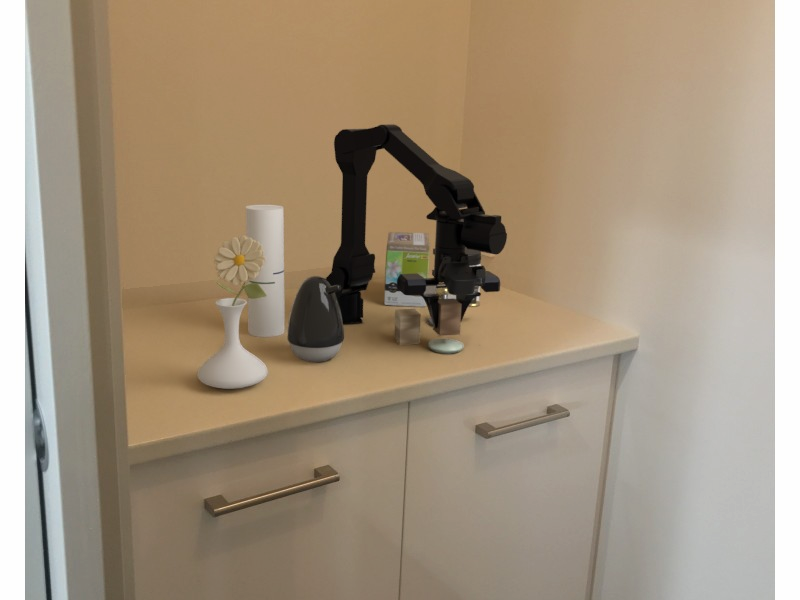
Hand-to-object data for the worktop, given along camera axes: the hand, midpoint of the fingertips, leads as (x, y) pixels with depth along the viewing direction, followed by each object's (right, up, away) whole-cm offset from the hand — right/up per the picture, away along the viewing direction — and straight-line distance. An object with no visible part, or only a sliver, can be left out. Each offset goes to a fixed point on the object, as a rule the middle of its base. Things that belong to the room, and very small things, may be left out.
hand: (446, 326), depth 147 cm
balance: (0, 0, +17) cm, 17 cm away
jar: (+5, +5, +35) cm, 36 cm away
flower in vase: (-36, -9, -19) cm, 41 cm away
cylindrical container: (-36, -1, +8) cm, 36 cm away
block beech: (-8, -3, +5) cm, 10 cm away
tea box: (-7, +5, +36) cm, 37 cm away
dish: (0, -4, +1) cm, 4 cm away
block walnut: (0, -1, 0) cm, 1 cm away
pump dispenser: (-24, -6, -6) cm, 25 cm away
